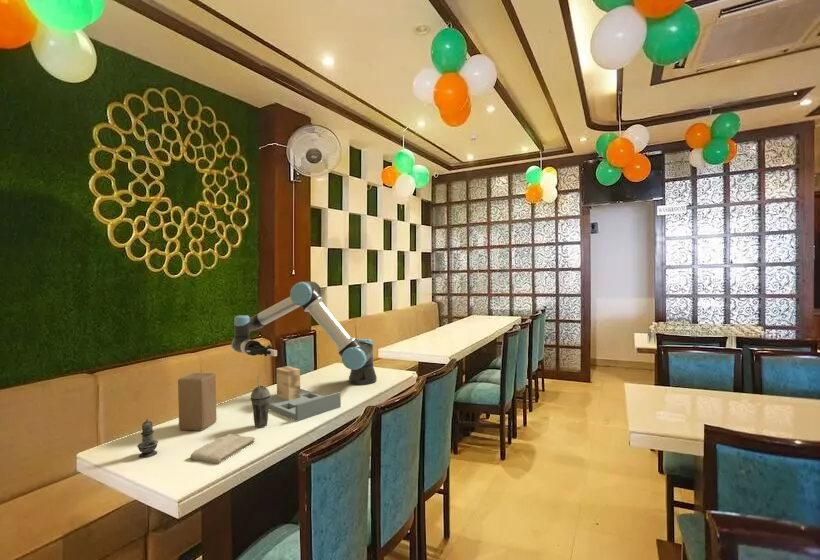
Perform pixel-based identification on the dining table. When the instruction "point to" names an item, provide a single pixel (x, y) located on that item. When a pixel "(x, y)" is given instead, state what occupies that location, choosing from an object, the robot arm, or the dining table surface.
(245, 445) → the washcloth
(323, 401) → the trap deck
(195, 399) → the block
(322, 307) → the robot arm
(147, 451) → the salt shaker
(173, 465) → the dining table surface
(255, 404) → the beverage cup
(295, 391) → the oak block
